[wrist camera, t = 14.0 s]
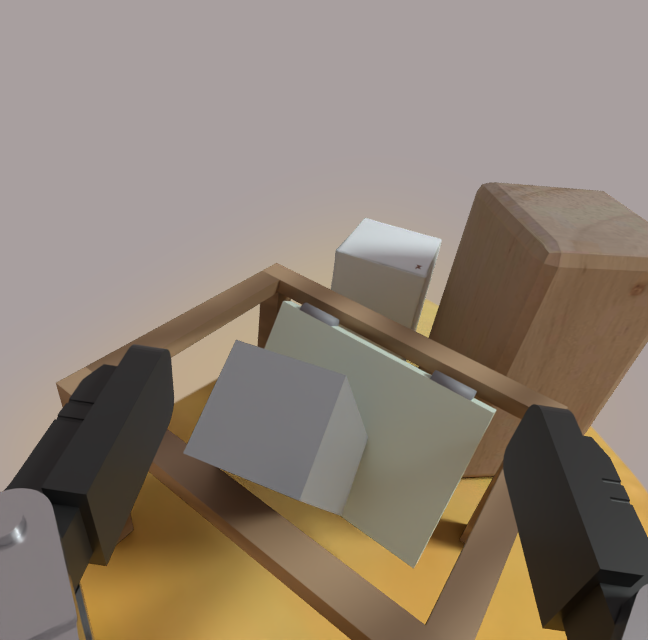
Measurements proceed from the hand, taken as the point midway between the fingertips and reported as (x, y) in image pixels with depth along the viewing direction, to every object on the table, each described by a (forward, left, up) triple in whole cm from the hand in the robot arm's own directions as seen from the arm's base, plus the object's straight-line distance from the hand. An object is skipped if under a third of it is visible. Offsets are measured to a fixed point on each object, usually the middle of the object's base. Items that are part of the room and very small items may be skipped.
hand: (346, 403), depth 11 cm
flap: (-5, +12, -14) cm, 19 cm away
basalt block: (-5, +9, -15) cm, 18 cm away
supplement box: (-11, +26, -23) cm, 36 cm away
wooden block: (+1, +25, -23) cm, 34 cm away
